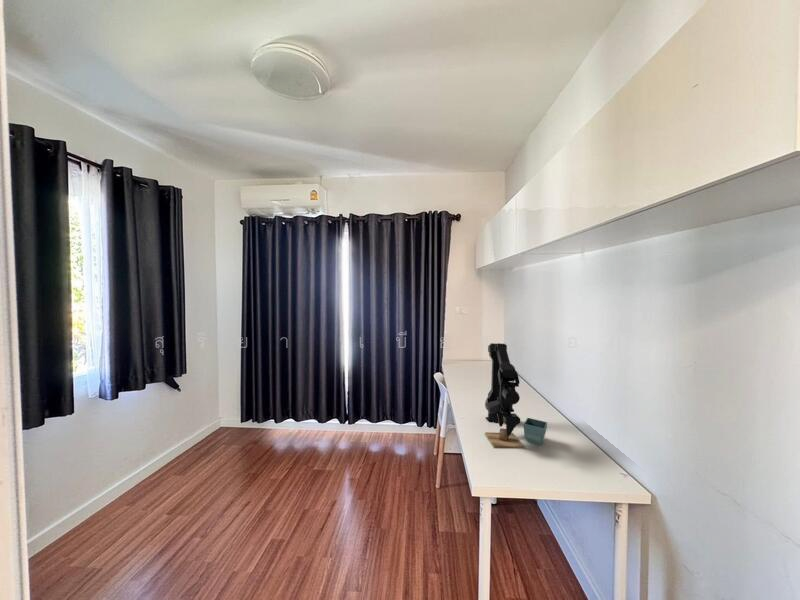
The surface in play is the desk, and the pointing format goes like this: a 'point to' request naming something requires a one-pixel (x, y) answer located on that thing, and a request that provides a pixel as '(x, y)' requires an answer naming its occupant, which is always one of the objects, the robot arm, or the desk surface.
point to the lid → (504, 440)
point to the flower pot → (534, 430)
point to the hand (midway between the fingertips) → (504, 430)
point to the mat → (502, 448)
